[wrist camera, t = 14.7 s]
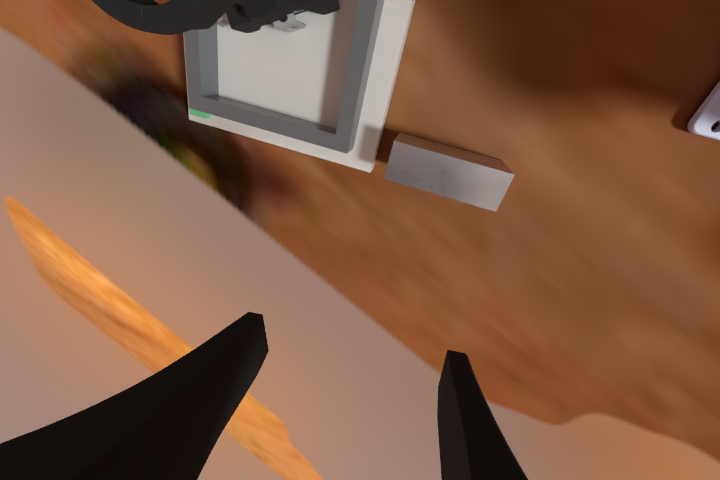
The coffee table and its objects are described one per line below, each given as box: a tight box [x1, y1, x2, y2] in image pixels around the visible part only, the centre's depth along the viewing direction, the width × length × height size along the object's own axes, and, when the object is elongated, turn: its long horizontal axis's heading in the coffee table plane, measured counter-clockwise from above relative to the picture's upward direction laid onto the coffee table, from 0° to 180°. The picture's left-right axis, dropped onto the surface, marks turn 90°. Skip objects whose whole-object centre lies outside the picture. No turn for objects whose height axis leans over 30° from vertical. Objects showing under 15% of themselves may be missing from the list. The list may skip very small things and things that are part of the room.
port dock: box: [183, 0, 416, 172], centre depth 14 cm, size 12×14×2 cm
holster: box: [384, 132, 515, 212], centre depth 13 cm, size 6×13×3 cm, turn 167°
